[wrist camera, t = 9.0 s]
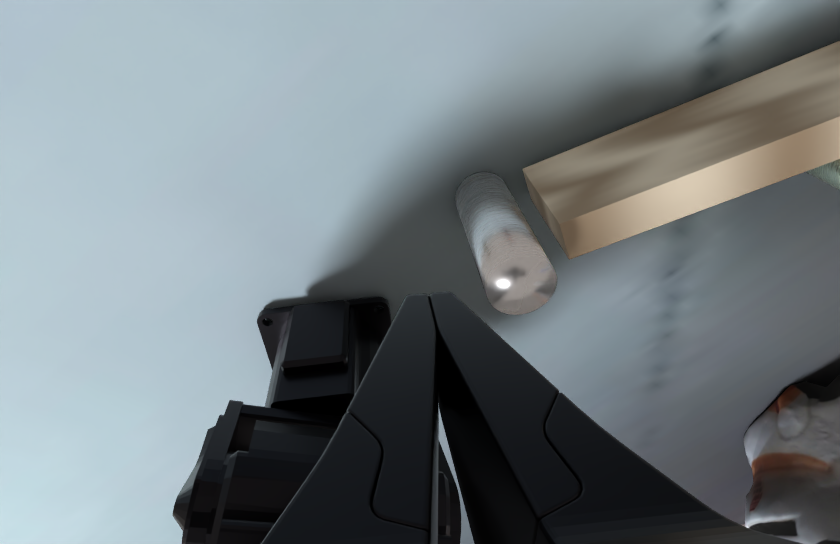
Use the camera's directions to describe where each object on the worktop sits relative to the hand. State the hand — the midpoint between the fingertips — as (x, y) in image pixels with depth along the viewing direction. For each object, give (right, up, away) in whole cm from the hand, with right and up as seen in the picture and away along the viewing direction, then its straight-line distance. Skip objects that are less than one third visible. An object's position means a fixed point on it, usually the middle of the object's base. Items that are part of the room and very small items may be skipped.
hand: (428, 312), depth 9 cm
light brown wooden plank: (+12, +8, +11) cm, 18 cm away
